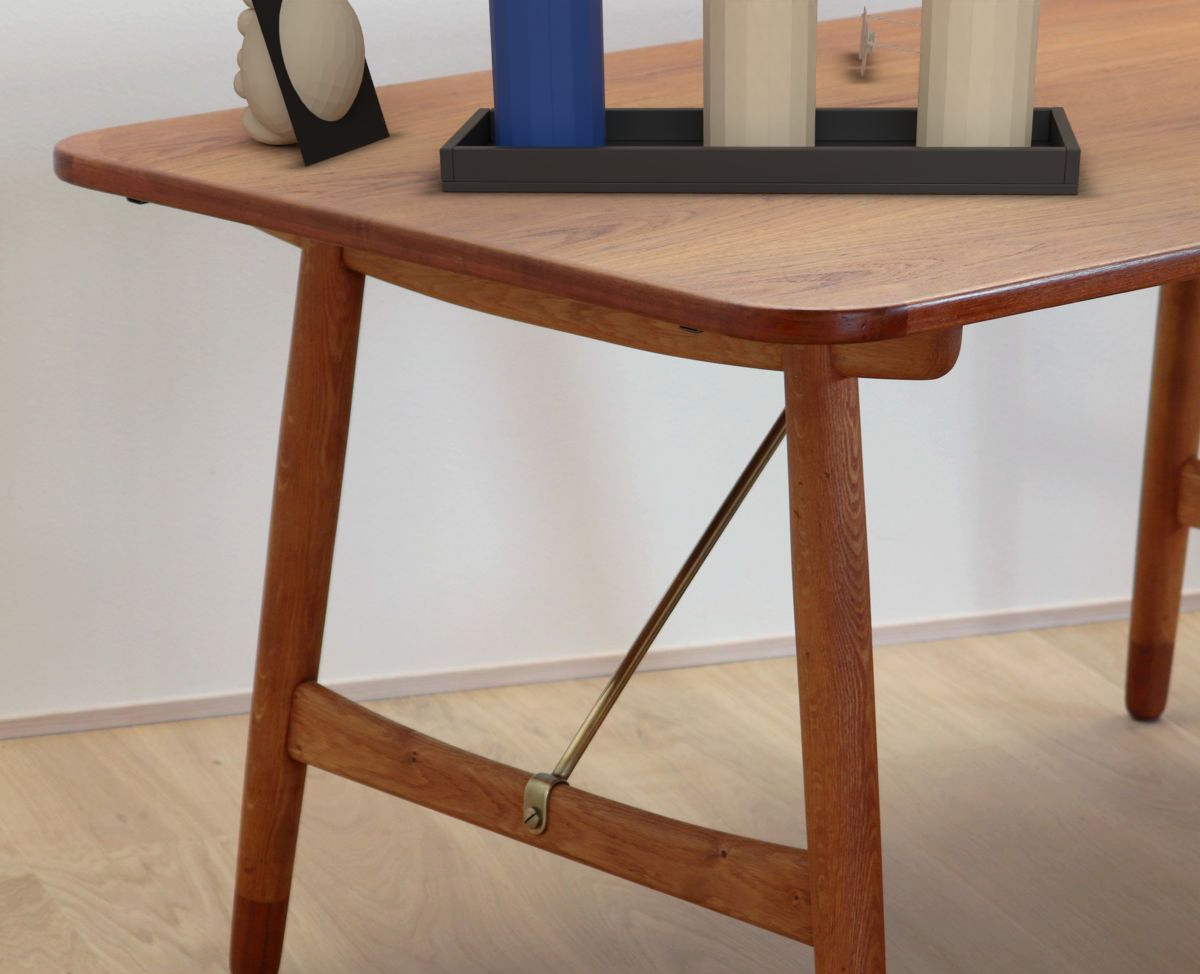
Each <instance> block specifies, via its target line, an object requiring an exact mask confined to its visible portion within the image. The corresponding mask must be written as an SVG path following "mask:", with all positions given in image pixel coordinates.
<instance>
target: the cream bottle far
mask: <svg viewBox="0 0 1200 974" xmlns="http://www.w3.org/2000/svg"><path fill="white" fill-rule="evenodd" d="M1041 1H1042V0H921V15H920V16H921V17H920V25H921V26H920V39H919V41H920V43H919V51H920V53H919V66H918V89H917V107H918V110H917V134H916V147H1031V135H1032V120H1033V107H1034V104H1035V88H1036V75H1037V73H1036V72H1037V57H1038V46H1039V44H1038V43H1039V31H1040V30H1039V27H1040V15H1041V14H1040V12H1041Z"/></svg>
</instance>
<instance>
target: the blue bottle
mask: <svg viewBox="0 0 1200 974" xmlns="http://www.w3.org/2000/svg"><path fill="white" fill-rule="evenodd" d="M603 2H604V1H603V0H488V9H489V10H488V15H489V36H490V52H491V72H492V73H491V75H492V92H493V94H492V96H493V108H494V116H495V136H496V146H606V117H605V108H606V92H605V91H606V90H605V89H606V88H605V87H606V83H605V82H606V80H605V48H604V47H605V46H604V44H605V43H604V40H605V39H604V8H603V7H604V5H603Z"/></svg>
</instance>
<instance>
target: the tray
mask: <svg viewBox="0 0 1200 974" xmlns="http://www.w3.org/2000/svg"><path fill="white" fill-rule="evenodd" d="M917 110H918V106H917V107H914V106H912V107H909V106H907V107H906V106H905V107H904V106H901V107H900V106H899V107H891V106H890V107H889V106H888V107H887V106H886V107H883V106H882V107H881V106H880V107H815V147H704V131H703V107H605V117H606V146H496V136H495V116H494V107H491V108H490V107H480V108H478V109H477V110H476V111H475V112H474V113H473V114H472V115H471V116H470V117H469V119H468V120H467V121H466V122H464V123H463V125H461V126H460V128H458V130H456V132H454V134H453V135H452V136H451V137H450V138H449V139H448V140H447V141H446V142H445V143H444V144H443V145H442V146H441V147H440V148H439V151H438V152H439V165H440V166H439V167H440V180H441V182H440V183H441V192H443V193H625V194H626V193H628V194H629V193H633V194H634V193H638V194H639V193H641V194H642V193H643V194H646V193H647V194H649V193H651V194H653V193H655V194H658V193H659V194H661V193H662V194H663V193H664V194H675V193H676V194H849V195H850V194H852V195H853V194H856V195H857V194H863V195H865V194H866V195H867V194H868V195H871V194H872V195H873V194H875V195H881V194H882V195H886V194H890V195H891V194H892V195H898V194H899V195H902V194H903V195H917V194H918V195H1078V193H1079V192H1078V191H1079V181H1080V168H1081V156H1082V155H1081V154H1082V149H1081V147H1080V145H1079V143H1078V140H1077V138H1076V135H1075V133H1074V130H1073V128H1072V125H1071V124H1070V121H1069V118H1068V116H1067V114H1066V110H1065V108H1064V107H1063V106H1051V107H1050V106H1033V120H1032V135H1031V147H916V134H917Z"/></svg>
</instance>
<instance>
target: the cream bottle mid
mask: <svg viewBox="0 0 1200 974" xmlns="http://www.w3.org/2000/svg"><path fill="white" fill-rule="evenodd" d="M818 1H819V0H702V79H703V80H702V88H703V89H702V91H703V92H702V93H703V94H702V96H703V98H702V99H703V105H702V108H703V131H704V147H815V108H816V103H817V102H816V101H817V100H816V98H817V97H816V95H817V94H816V93H817V54H818V53H817V50H818V49H817V48H818V47H817V46H818V45H817V44H818Z"/></svg>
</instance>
